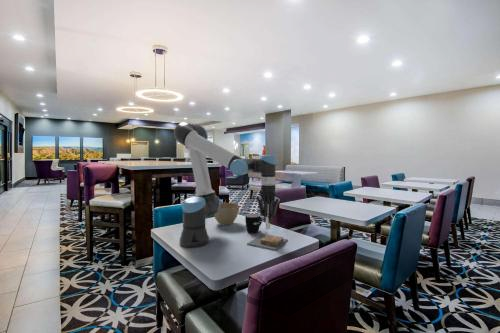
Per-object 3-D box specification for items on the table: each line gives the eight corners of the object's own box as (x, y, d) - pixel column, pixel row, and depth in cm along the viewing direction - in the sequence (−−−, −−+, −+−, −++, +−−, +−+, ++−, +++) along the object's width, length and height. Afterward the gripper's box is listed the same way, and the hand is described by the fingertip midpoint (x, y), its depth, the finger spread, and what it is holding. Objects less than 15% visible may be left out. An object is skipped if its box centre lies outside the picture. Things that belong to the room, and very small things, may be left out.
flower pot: (206, 223, 165) (206, 205, 164) (228, 218, 177) (228, 201, 177) (222, 229, 152) (222, 210, 151) (244, 224, 164) (244, 205, 163)
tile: (260, 239, 127) (276, 242, 123) (268, 234, 135) (283, 237, 131) (260, 243, 128) (276, 246, 123) (268, 238, 135) (283, 241, 131)
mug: (252, 235, 142) (252, 218, 141) (242, 231, 148) (242, 215, 148) (266, 230, 150) (266, 214, 150) (256, 227, 157) (256, 211, 156)
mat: (247, 244, 128) (247, 243, 128) (261, 235, 142) (261, 234, 142) (275, 250, 120) (275, 249, 120) (287, 240, 134) (287, 239, 134)
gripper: (253, 184, 129) (253, 228, 130) (276, 186, 122) (276, 232, 124) (260, 182, 135) (260, 225, 137) (282, 184, 129) (282, 228, 130)
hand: (267, 228), depth 130 cm, fingers closed
